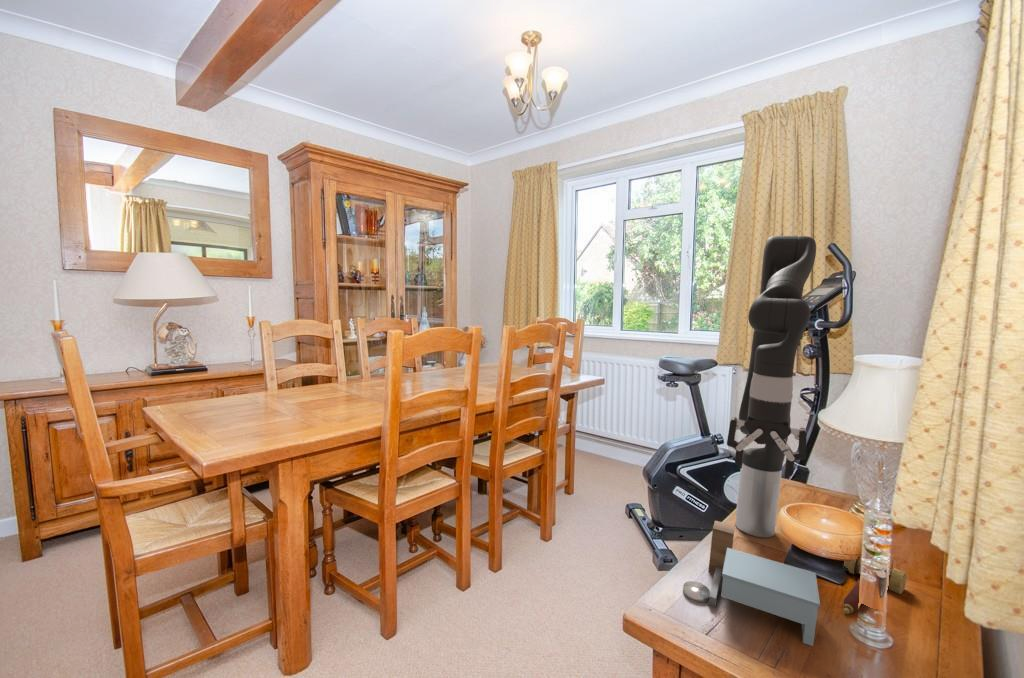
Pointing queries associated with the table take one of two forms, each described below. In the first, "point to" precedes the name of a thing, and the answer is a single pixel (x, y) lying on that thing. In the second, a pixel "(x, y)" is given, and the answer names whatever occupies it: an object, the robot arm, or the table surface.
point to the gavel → (852, 599)
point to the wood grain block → (719, 555)
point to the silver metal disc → (696, 591)
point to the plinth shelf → (772, 589)
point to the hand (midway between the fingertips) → (762, 471)
